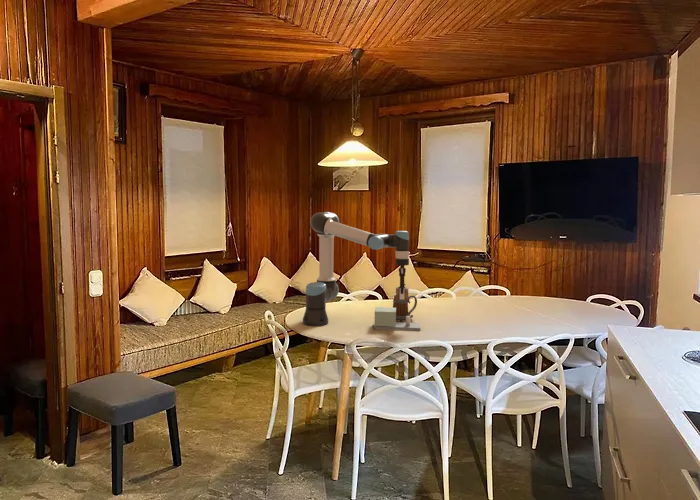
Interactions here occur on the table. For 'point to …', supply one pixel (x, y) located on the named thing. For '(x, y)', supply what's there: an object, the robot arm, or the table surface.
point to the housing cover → (385, 316)
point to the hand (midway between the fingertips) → (402, 298)
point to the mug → (403, 308)
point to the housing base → (402, 326)
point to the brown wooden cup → (404, 293)
